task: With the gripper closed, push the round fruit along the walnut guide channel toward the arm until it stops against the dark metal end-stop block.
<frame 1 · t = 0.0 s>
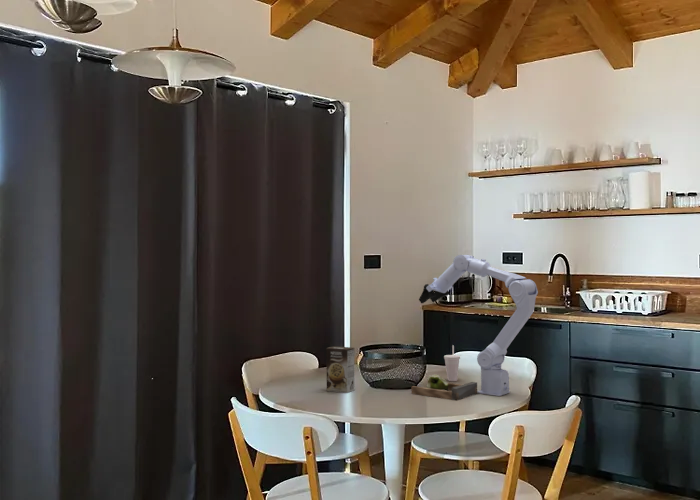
hand: (426, 300, 265), 32 cm above the table, tool tilted 50°, fingers open, 7 cm apart
fruit: (436, 393, 249), on the table
smoothie: (452, 380, 272), on the table
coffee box: (340, 391, 255), on the table
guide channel: (444, 393, 247), on the table
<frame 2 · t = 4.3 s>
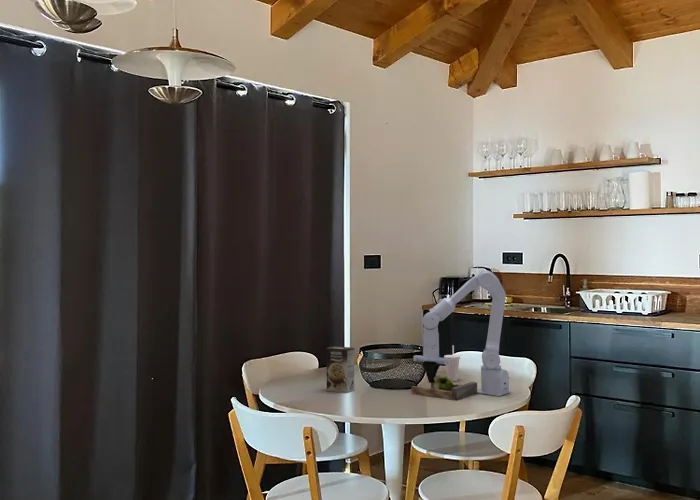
hand: (431, 382, 250), 3 cm above the table, tool pointing down, fingers closed
fruit: (443, 393, 248), on the table, touching gripper
everything else where it was.
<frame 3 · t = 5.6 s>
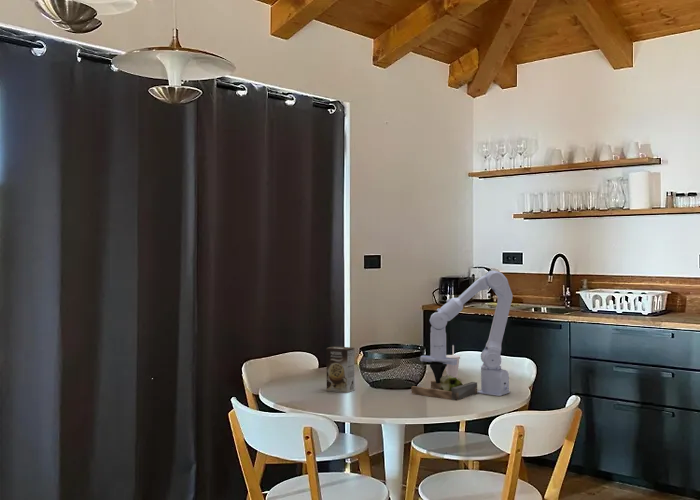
hand: (438, 382, 248), 4 cm above the table, tool pointing down, fingers closed, pressing on fruit
fruit: (450, 394, 247), on the table, touching gripper, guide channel
everything else where it was.
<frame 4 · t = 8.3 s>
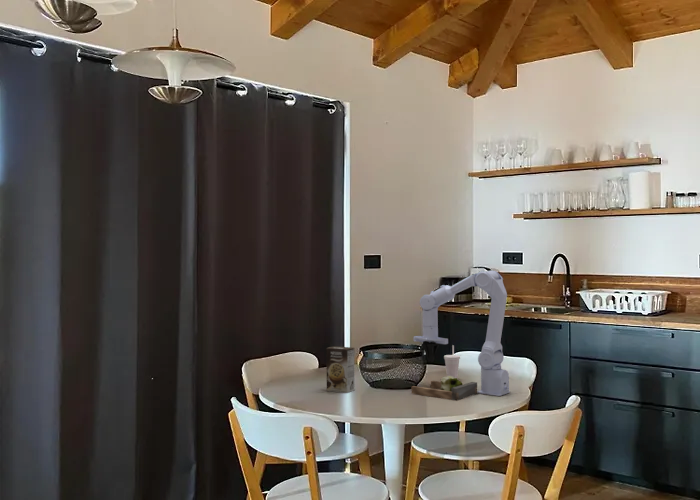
hand: (430, 361, 260), 9 cm above the table, tool pointing down, fingers closed
fruit: (451, 394, 246), on the table
everything else where it was.
at the end: fruit 1.5 cm from the target spot on the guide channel, point 0.0 cm above the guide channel's base; fruit moved 5.9 cm from its start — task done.
